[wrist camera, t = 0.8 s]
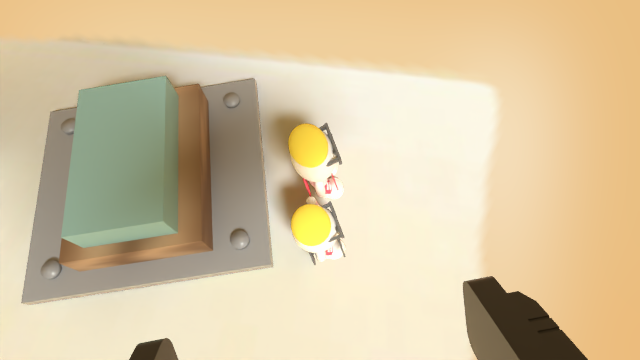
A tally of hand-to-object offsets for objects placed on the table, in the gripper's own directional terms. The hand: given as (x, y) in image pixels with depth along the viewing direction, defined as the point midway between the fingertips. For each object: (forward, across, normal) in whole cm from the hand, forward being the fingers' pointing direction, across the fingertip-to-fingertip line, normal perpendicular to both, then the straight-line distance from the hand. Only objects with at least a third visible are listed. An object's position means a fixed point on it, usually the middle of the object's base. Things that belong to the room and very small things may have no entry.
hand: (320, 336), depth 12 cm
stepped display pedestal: (+31, +16, +4) cm, 35 cm away
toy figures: (+28, 0, +8) cm, 29 cm away
